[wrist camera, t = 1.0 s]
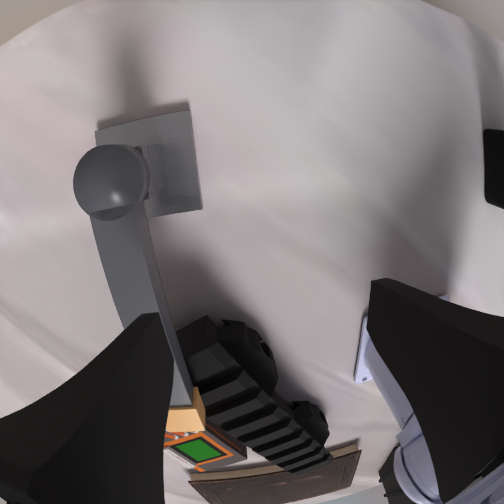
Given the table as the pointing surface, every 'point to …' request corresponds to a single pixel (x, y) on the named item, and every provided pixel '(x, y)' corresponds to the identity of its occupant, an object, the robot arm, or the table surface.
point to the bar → (133, 257)
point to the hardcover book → (277, 482)
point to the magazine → (392, 483)
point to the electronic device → (204, 447)
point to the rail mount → (251, 396)
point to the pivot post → (163, 160)
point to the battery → (494, 167)
